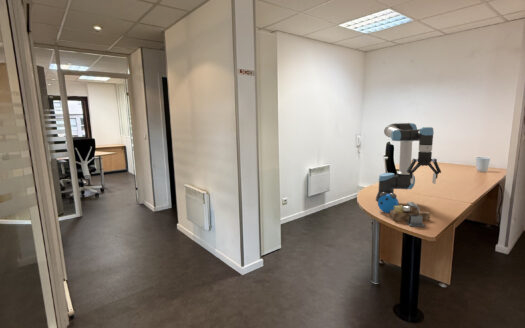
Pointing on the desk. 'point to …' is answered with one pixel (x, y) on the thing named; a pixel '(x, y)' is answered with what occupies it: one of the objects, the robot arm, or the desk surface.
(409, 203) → the beam
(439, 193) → the desk surface
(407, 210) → the axle
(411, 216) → the grey slotted plate stand
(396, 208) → the tan rectangular block
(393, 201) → the alarm clock
